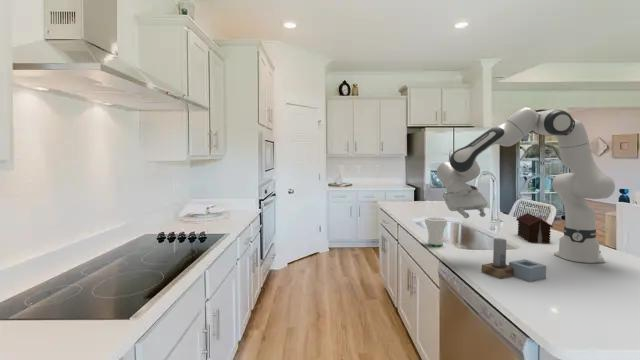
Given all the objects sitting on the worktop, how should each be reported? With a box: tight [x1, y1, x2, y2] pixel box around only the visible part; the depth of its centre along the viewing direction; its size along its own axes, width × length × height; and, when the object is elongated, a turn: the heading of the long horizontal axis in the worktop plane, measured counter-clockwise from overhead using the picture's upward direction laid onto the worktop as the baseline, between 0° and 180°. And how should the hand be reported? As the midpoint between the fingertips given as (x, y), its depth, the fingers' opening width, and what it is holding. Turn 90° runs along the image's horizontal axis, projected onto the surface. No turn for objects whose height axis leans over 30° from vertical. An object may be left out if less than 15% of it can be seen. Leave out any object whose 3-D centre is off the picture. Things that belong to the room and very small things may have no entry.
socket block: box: [481, 262, 515, 280], centre depth 143 cm, size 9×9×3 cm
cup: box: [424, 216, 448, 248], centre depth 189 cm, size 11×11×14 cm
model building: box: [515, 212, 554, 244], centre depth 201 cm, size 21×12×15 cm, turn 168°
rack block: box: [508, 259, 547, 282], centre depth 140 cm, size 9×9×5 cm
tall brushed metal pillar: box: [492, 237, 507, 269], centre depth 143 cm, size 3×3×14 cm
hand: (475, 216), depth 153 cm, fingers open, 8 cm apart
